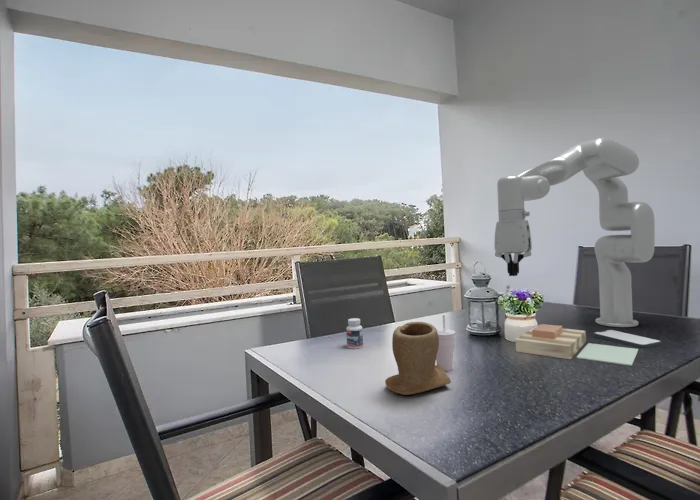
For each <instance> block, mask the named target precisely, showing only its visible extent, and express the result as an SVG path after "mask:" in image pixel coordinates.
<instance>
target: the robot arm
mask: <svg viewBox="0 0 700 500" xmlns="http://www.w3.org/2000/svg"><path fill="white" fill-rule="evenodd" d="M639 165H640V158H639V156H638V154H637V153H636V152H635V150H633V149H632V148H629V147H628V146H626V145H624V144H622V143H620V142H617V141H615V140H613V139H610V138H606V137H598V138H594V139H590V140H587V141H583V142H579V143H577V144H574V145H573V146H571V147H569V148H567V149H566V150H564V151H562V152H561V153H559V154H558V155H556V156H554V157H553V158H550V159H548V160H547V161H545V162H542V163H540V164H539V165H536V166H535V167H532V168H530V169H528V170H526V171H524V172H522V173H520V174H518V175H509V176H502V177H500V178H499V179H498V180H497V184H496V185H497V209H498V210H497V211H498V221H497V222H495V223H496V224H495V230H494V231H495V232H494V256H495V257H498V258H502V260H503V261H505V263H506V265H507V267H506V269H507V274H508V277H512V276H513V277H517V276H518V275H519V273H520V263H521V261H523V259H524V258H527V257H531V256H532V248H533V247H532V246H533V244H532V237H531V236H532V234H531V228H530V224H529V221H528V220H527V219H526V218H527V217H529V216H530V211H526V210H525V202H528V201H537V200H540V199H543V198H545V197H546V196H547V195H548V194H549V192H550V189H551V187H552V186H556V185H559V184H561V183H564V182H566V181H568V180H569V179H571V178H572V177H574V176H575V175H578V173H580V172H581V171H582V172H583V174H584V176H585V177H586V178H587V179H588V180H589V181H590V182H591V183H592V184H593V185H594V187H595V188H596V190H597V192H598V198H599V199H598V200H599V201H598V202H599V203H598V205H599V207H598V208H599V209H598V211H599V214H598V215H599V220H598V221H599V225H600V228H601V229H603V230H604V231H609V232H623V231H624V232H625V231H626V232H627V231H630V234H610V235H603V236H601V237H599V238H598V239H597V240H596V242H595V243H594V249H593V250H594V254H595V257H596V261H597V267H598V284H599V285H598V287H599V289H598V290H599V309H600V310H599V313H600V314H599V317H597V318H596V319H595V323H596V324H597V325H601V326H606V327H613V328H614V327H615V328H634V327H637V326H639V320H636V319H633V318H634V317H633V291H632V290H633V289H632V286H633V285H632V272H631V270H630V269H629V266H628V265H627V264H626V263H646V262H649V261H650V260H651V259H652V258H653V256H654V253H655V236H656V234H655V226H656V225H655V223H656V222H655V213H654V211H653V208H652V206H650V204H649V203H647V202H645V201H632V202H629V191H628V187H627V185H626V184H625V181H623V180H622V179H621V178H620V177H625V176H629V175H632V174H634V173H635V172H636V171H637V169H638V168H639ZM512 254H513V255H512Z"/></svg>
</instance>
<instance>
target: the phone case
mask: <svg viewBox="0 0 700 500" xmlns="http://www.w3.org/2000/svg"><path fill="white" fill-rule="evenodd" d="M592 337H594V338H596V339H600V340H605V341H607V342H608V341H609V342H614V343H617V344H622V345H626V346H630V347H635V348H637V349H649V348H654V347H659V346H662V345H663V342H662V340H659V339H653V338H650V337H645V336H641V335H636V334H631V333H628V332H627V333H626V332H622V331H618V330H614V329H606V330H601V331H594V332H592Z"/></svg>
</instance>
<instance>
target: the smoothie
mask: <svg viewBox="0 0 700 500" xmlns="http://www.w3.org/2000/svg"><path fill="white" fill-rule="evenodd" d="M436 330H437V332H438V336H439V348H438V352H437V356H436V362H435V364H436V365H440V366H441V367H443V369H444V372H449V371H452V370H453V363H454V362H453V359H454V351H455V350H454V349H455V338H456V336H457V333H456V331H455V330H453V329H451V328H450V329H449V328H446V314H442V328H436Z"/></svg>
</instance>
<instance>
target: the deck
mask: <svg viewBox="0 0 700 500" xmlns="http://www.w3.org/2000/svg"><path fill="white" fill-rule="evenodd" d="M562 329H563V333H562V334H560V335H559V336H558V337H557V338H556V339H548V338H540V337H532V331H529V330H527V331H526V332H525V333H523V334H521V335H520V336H518V337H517V338H515V352H517V353H524V354H530V355H537V356H544V357H550V358H558V359H566V360H572V358H574V356H575V355H576V354H577V353H578V352H579V351H580V349H582V347H583V346H584V345H585V344H586V342H587V336H586V335H587V333H586V330H582V329H581V330H580V329H572V328H563V327H562Z"/></svg>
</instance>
